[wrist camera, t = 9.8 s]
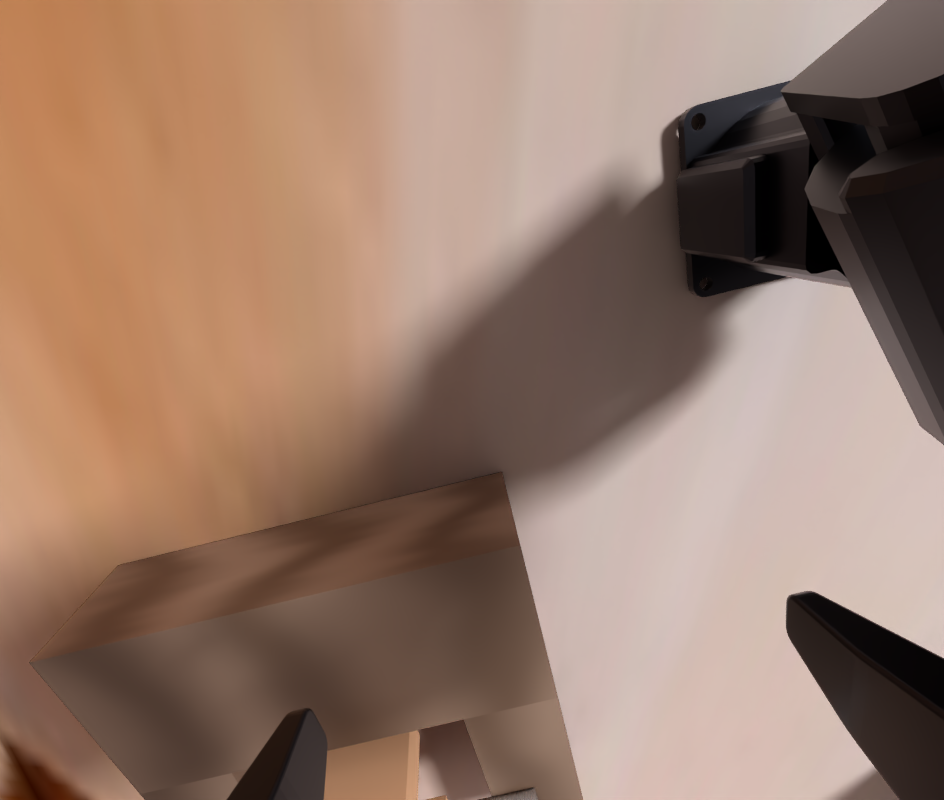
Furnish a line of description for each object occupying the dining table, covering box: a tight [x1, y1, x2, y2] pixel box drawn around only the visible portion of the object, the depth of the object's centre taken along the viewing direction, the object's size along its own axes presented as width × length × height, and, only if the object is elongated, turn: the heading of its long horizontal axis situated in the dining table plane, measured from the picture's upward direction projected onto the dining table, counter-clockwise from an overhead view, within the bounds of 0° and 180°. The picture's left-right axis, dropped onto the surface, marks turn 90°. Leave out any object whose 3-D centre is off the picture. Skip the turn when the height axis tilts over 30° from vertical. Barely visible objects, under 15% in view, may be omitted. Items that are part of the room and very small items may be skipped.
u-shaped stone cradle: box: [29, 472, 583, 800], centre depth 23 cm, size 18×20×5 cm
